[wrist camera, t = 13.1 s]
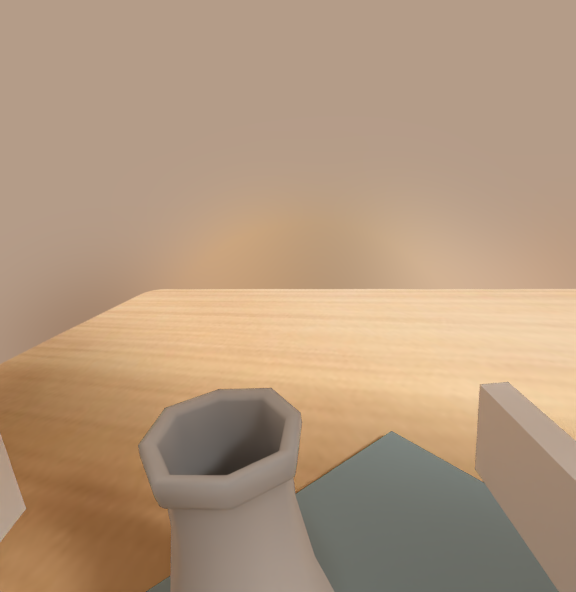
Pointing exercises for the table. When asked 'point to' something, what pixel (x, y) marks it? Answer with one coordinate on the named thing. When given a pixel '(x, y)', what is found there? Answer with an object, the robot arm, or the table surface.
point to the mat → (411, 527)
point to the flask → (232, 493)
